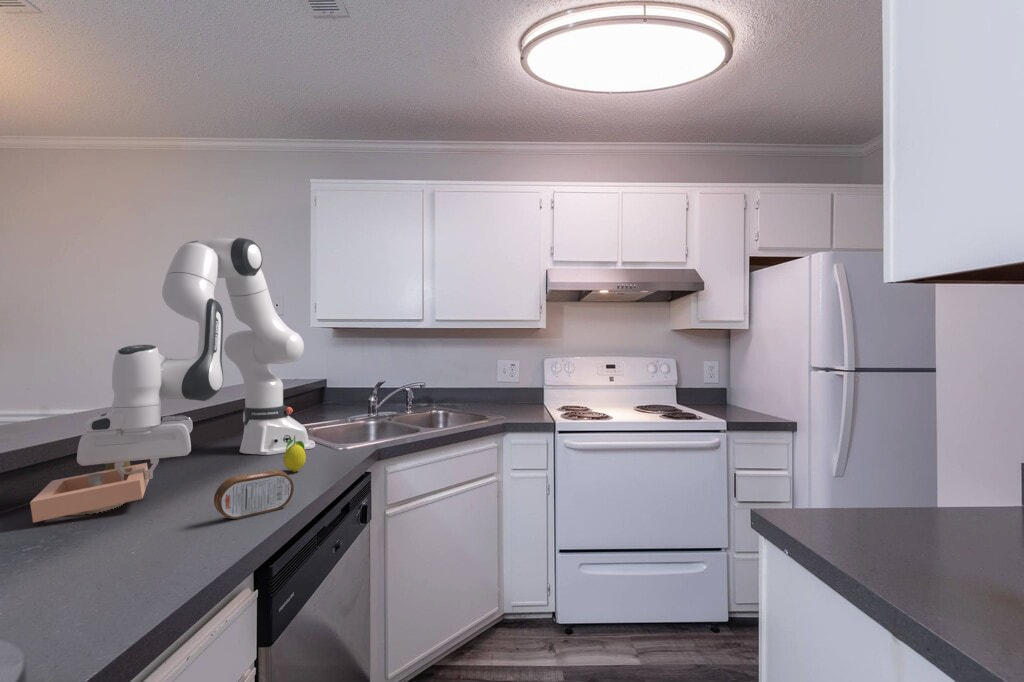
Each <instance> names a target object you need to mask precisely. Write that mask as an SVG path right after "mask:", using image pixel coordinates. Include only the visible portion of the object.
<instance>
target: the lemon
mask: <svg viewBox="0 0 1024 682" xmlns="http://www.w3.org/2000/svg"><path fill="white" fill-rule="evenodd" d="M292 442H293V440H290V441H288V443H287V446H286V449H287V448H288V446H289V445H290V444H291V443H292ZM295 442H296V441H295V435H294V444H293V445H292V446H290V447H289V448H288V449H287V450H285V451H286V452H284V453H283V465H284V467H285V468H286V469H288V470H290V471H292V472H293V473H297V471H298V470H299V469H301V468H303V466H304V465H305V463H306V459H307V457H306V451H305V450H304V443H303V442H302V441H298V442H296V443H295Z"/></svg>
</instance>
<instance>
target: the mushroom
mask: <svg viewBox="0 0 1024 682" xmlns="http://www.w3.org/2000/svg"><path fill="white" fill-rule="evenodd" d="M100 485H103V474H102V473H96V474H91V475H88V488H90V487H95V486H100ZM123 504H124V505H125V503H121V504H116V505H111V506H107V507H102V508H98V509H93V510H88V511H84V512H79V513H75V514H70V515H69V516H86V515H85V514H89V515H94V514H93V513H96V514H100V513H99V512H101V513H104V512H103V511H105V512H108V511H107V510H109V511H111V510H110V509H113V510H115V509H114V508H116V507H118V508H120V507H122V506H124V505H123ZM121 505H122V506H121ZM119 506H120V507H119ZM116 509H117V508H116Z"/></svg>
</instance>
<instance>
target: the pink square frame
mask: <svg viewBox="0 0 1024 682" xmlns="http://www.w3.org/2000/svg"><path fill="white" fill-rule="evenodd" d="M122 468H123V469H124V470H125V472H130V474H129V476H128V478H127V480H125V481H121V475H120V473H119V472H118V471H117V470H116V469H111V470H106V471H105V470H102V471H95V472H91V473H90V472H89V473H85V474H81V475H80V474H79V475H75V476H70V477H64V478H60V479H58V478H57V479H55V480H54V479H53V480H51V481H50V482H49V483H48V484H47V485H46V486H45V487H44V488H43V489H42V490H41V491H40V492H39V493H38V494H37V495H36V496H35V497H34V498H32V500H31V501H30V502H29V505H30V509H31V510H30V511H31V518H32V523H37V522H42V521H46V520H52V519H55V518H61V517H65V516H71V515H70V514H75V513H79V512H84V511H88V510H93V509H98V508H102V507H107V506H111V505H116V504H121V503H124V504H126V503H129V502H133V501H138V500H142V499H143V498H144V495H145V492H146V489H147V486H148V483H149V481H150V479H145V480H144V476H145V475H144V472H145V470H149V468H148V462H144V463H139V464H133V465H130V466H127V467H122ZM96 473H102V474H103V485H100V486H95V487H90V488H88V475H91V474H96Z"/></svg>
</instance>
